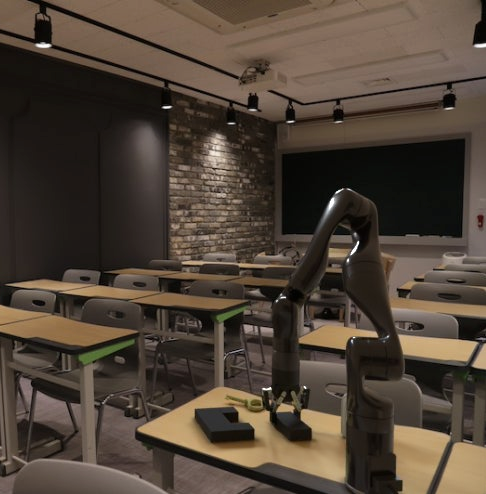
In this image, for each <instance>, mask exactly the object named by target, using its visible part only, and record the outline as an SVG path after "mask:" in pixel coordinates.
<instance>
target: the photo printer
mask: <svg viewBox="0 0 486 494" xmlns="http://www.w3.org/2000/svg"><path fill="white" fill-rule="evenodd" d="M346 400H347V396H346V393H344V395H343V396H342V397H341V402H340V403H341V404H340V434H341V435H342V436H343V437H344V438H346Z"/></svg>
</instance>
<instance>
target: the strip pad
mask: <svg viewBox="0 0 486 494" xmlns="http://www.w3.org/2000/svg"><path fill="white" fill-rule="evenodd" d="M276 413H277V425H276V426H274V428H276V429H277V430H278V431H279V432H280V433H281V434H282V435H283V436H285V438H287V439H288V440H289V441H290V442H292V441H293V442H294V441H295V442H297V441H310V440H312V439H313V429H312V427H310V426H309V424H307V423H306V422H304V420H302V418H301V419H299V418H298V417H297V416H296V415H294V414H293V411H276Z"/></svg>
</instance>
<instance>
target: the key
mask: <svg viewBox="0 0 486 494" xmlns="http://www.w3.org/2000/svg"><path fill="white" fill-rule="evenodd" d="M224 400H227V401H229V400H231V401H234V402H237V403H241V404H244V406H247V409H248V410H250V411H253V412H259V411H262V410H263V409H264V408H263V405H262V399H259V398H252V399H250V400H248V399H247V398H245V399H244V398H240V397H237V396H233V395H230V394H226V395H225V397H224ZM253 404H259V405H260V406H254V405H253Z"/></svg>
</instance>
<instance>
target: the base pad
mask: <svg viewBox="0 0 486 494" xmlns="http://www.w3.org/2000/svg"><path fill="white" fill-rule="evenodd" d="M239 414H240V412H239V410H237V408H235V407H234V406H218V407H217V406H216V407H202V408H201V407H200V408H194V420H195V421H196V422H197V424H198V426H199V428H200V429H201V430H202V432H203V433H204V435H205V436H206V437H207V439H208V440H209V442H210V443H213V444H214V443H225V442H226V443H227V442H241V441H243V442H244V441H255V440H256V439H255V435H256V434H255V433H256V431H255V428H254V426H252V424H251V423H250V422H239V421H240V419H239V418H240V416H239Z"/></svg>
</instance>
